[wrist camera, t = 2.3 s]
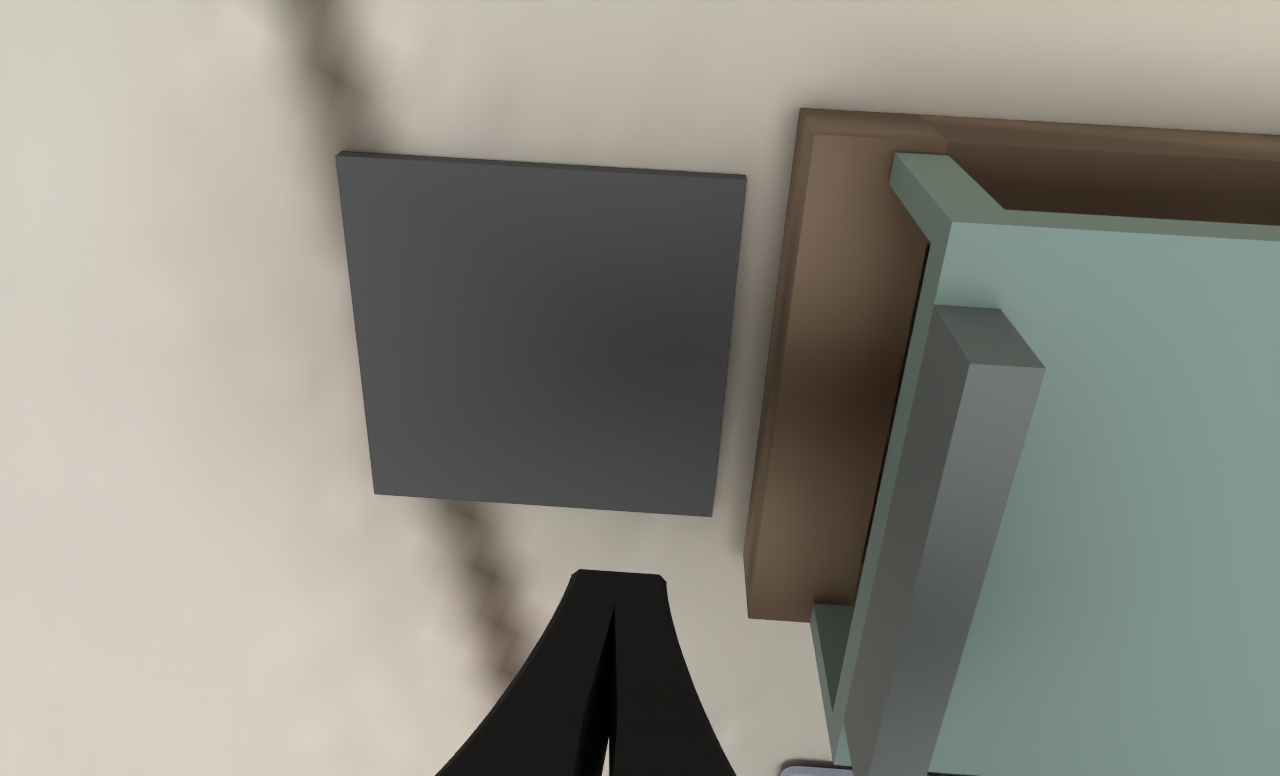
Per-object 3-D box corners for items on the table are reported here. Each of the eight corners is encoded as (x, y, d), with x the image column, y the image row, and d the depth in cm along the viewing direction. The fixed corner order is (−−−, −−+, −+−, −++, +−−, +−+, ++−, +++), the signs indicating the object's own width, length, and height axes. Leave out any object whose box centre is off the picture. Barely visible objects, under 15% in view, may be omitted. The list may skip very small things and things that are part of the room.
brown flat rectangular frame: (1558, 610, 24) (1644, 681, 22) (743, 554, 25) (748, 618, 22) (1866, 169, 18) (2026, 204, 16) (800, 108, 19) (814, 133, 17)
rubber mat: (711, 508, 24) (711, 517, 24) (379, 485, 24) (374, 494, 24) (745, 175, 20) (746, 180, 19) (341, 151, 20) (335, 155, 20)
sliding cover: (1177, 647, 22) (1338, 893, 17) (809, 621, 22) (848, 854, 17) (1385, 180, 16) (1728, 316, 11) (894, 152, 17) (993, 270, 11)
